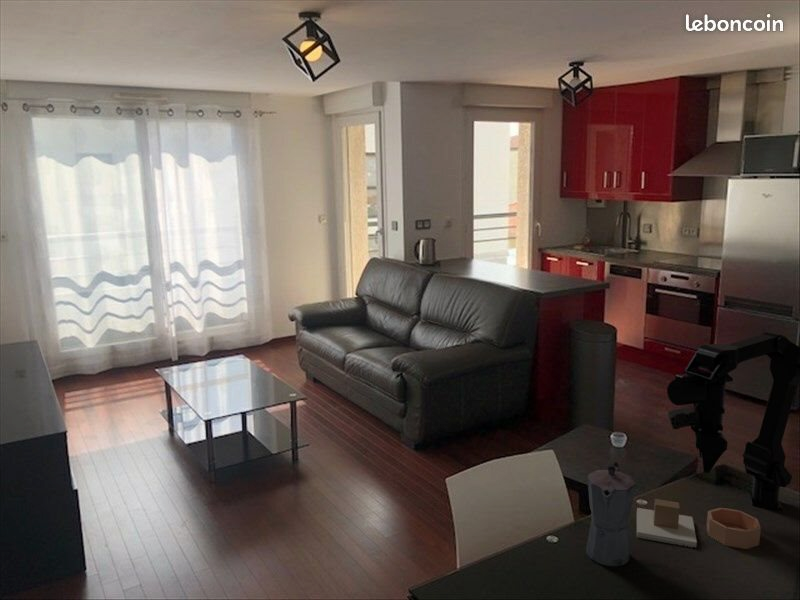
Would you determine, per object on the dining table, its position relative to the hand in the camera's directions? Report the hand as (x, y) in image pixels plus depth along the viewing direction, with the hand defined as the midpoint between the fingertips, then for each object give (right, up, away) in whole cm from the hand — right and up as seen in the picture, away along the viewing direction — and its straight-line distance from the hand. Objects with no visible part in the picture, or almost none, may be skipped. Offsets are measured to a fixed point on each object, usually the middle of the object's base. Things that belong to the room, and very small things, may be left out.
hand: (704, 464), depth 147 cm
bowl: (+3, -14, -7) cm, 16 cm away
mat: (-11, -14, -4) cm, 18 cm away
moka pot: (-28, -15, -14) cm, 35 cm away
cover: (-11, -13, -4) cm, 18 cm away
